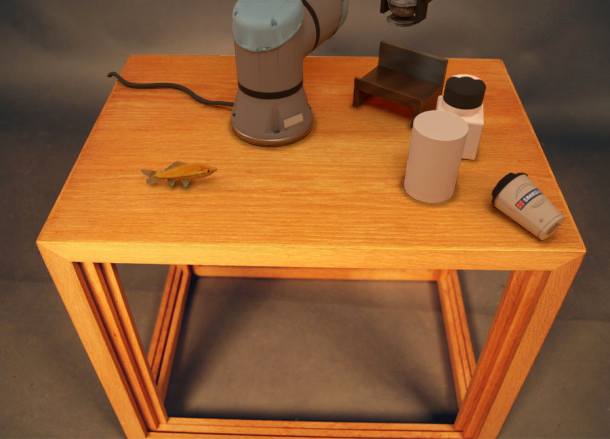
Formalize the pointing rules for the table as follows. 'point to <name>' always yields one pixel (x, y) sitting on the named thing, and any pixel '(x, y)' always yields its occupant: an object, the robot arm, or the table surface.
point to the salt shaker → (402, 12)
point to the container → (465, 107)
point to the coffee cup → (526, 205)
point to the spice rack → (403, 78)
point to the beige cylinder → (435, 155)
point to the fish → (180, 173)
